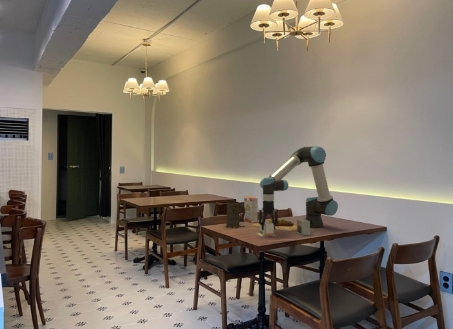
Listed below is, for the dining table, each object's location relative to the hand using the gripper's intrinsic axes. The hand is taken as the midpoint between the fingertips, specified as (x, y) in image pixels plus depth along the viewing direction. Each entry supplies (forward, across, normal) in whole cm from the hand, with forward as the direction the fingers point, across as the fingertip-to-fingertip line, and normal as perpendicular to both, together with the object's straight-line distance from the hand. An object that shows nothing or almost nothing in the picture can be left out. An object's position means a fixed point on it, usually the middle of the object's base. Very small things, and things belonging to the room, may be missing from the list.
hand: (268, 234), depth 244 cm
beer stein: (+2, +11, -45) cm, 46 cm away
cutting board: (+3, -20, -34) cm, 39 cm away
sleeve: (0, 0, 0) cm, 0 cm away
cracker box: (+2, -7, -63) cm, 63 cm away
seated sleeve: (+1, 0, -9) cm, 9 cm away
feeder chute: (+2, -28, -4) cm, 28 cm away
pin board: (+2, 0, -4) cm, 5 cm away
